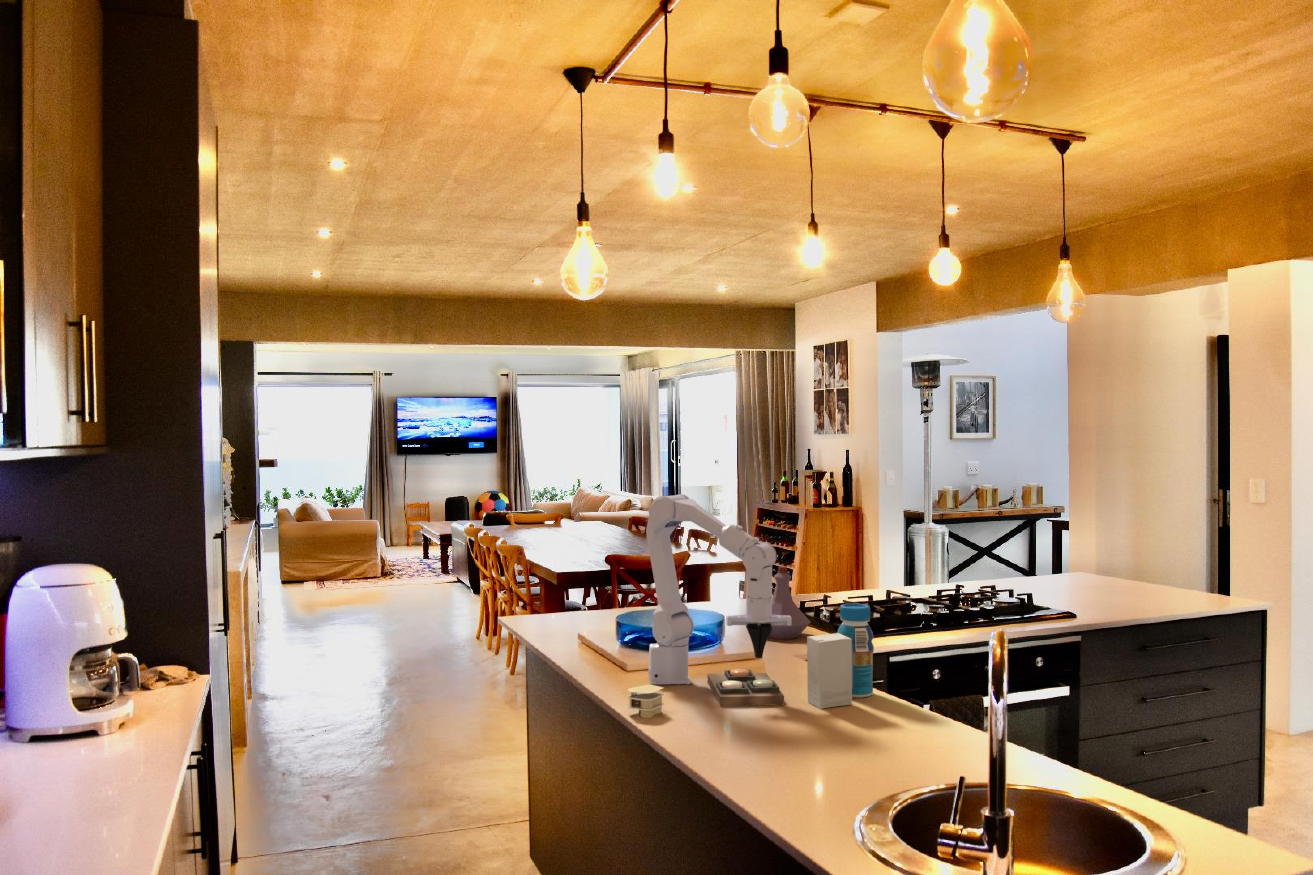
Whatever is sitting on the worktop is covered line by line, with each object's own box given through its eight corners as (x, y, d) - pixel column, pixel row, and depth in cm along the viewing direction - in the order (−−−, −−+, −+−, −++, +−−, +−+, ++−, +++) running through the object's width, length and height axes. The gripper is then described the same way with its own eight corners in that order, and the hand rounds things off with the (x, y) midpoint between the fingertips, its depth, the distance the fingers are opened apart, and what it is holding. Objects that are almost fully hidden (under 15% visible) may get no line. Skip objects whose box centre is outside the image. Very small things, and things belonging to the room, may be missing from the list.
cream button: (723, 691, 216) (723, 685, 216) (720, 685, 220) (720, 680, 220) (743, 690, 216) (743, 685, 216) (740, 685, 221) (740, 680, 221)
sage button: (754, 690, 217) (754, 684, 217) (751, 684, 222) (751, 679, 222) (774, 689, 218) (774, 684, 218) (770, 684, 222) (770, 679, 222)
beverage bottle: (830, 695, 222) (831, 606, 222) (841, 686, 229) (842, 601, 229) (867, 700, 218) (868, 610, 218) (877, 691, 225) (878, 604, 225)
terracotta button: (731, 678, 227) (731, 673, 227) (728, 674, 231) (728, 668, 231) (750, 678, 227) (750, 673, 227) (747, 673, 232) (747, 668, 232)
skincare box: (838, 698, 219) (839, 632, 219) (853, 706, 213) (853, 637, 213) (805, 702, 216) (805, 634, 216) (819, 709, 211) (819, 640, 210)
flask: (822, 637, 284) (823, 568, 284) (779, 644, 275) (780, 572, 274) (784, 627, 297) (785, 561, 297) (742, 633, 288) (742, 565, 288)
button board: (720, 705, 213) (720, 692, 213) (707, 682, 233) (707, 669, 233) (784, 704, 214) (784, 691, 214) (765, 681, 234) (765, 668, 234)
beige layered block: (644, 706, 214) (644, 680, 214) (676, 713, 208) (676, 687, 208) (613, 716, 206) (613, 690, 206) (646, 724, 200) (646, 697, 200)
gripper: (729, 600, 217) (729, 661, 217) (794, 599, 218) (793, 660, 218) (725, 594, 224) (724, 654, 224) (787, 594, 225) (787, 653, 225)
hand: (758, 657), depth 222 cm, fingers closed
